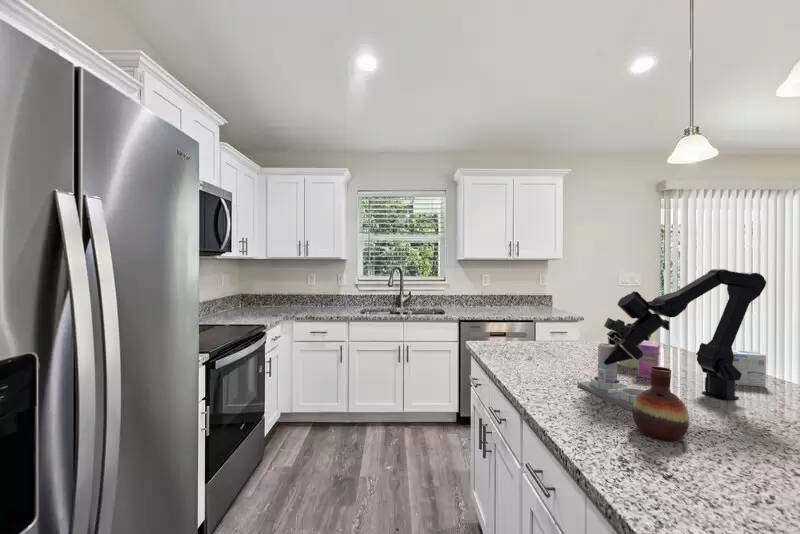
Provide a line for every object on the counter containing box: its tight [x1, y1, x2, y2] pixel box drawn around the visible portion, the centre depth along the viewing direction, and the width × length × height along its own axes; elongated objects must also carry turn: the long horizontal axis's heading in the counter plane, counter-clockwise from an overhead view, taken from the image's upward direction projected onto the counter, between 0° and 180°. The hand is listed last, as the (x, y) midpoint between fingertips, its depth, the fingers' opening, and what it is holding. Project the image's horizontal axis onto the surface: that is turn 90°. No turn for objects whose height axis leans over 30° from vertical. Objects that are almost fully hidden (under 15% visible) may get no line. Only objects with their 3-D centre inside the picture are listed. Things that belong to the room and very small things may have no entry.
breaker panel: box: [577, 375, 646, 412], centre depth 116 cm, size 22×13×3 cm, turn 12°
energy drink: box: [597, 342, 618, 383], centre depth 121 cm, size 5×5×12 cm
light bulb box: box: [732, 349, 767, 388], centre depth 131 cm, size 11×7×11 cm, turn 74°
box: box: [637, 340, 660, 380], centre depth 139 cm, size 10×6×12 cm, turn 143°
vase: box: [631, 366, 690, 442], centre depth 90 cm, size 11×11×15 cm
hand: (602, 361), depth 122 cm, fingers closed on energy drink, 5 cm apart
